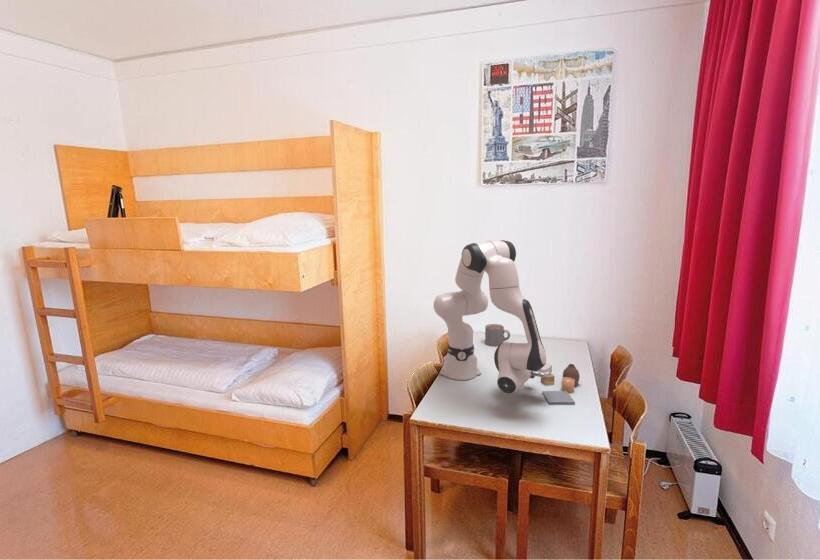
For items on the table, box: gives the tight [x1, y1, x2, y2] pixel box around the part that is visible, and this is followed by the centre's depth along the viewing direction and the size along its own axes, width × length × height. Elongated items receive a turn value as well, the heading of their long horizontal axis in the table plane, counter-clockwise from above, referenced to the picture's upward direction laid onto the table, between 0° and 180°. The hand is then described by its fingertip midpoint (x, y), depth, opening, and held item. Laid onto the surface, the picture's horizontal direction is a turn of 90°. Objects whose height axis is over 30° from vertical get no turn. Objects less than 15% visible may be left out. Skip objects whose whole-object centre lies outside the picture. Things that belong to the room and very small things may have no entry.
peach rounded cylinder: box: [560, 376, 575, 394], centre depth 180 cm, size 5×5×5 cm
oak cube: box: [540, 373, 555, 387], centre depth 187 cm, size 4×4×4 cm
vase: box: [562, 363, 581, 387], centre depth 186 cm, size 7×7×9 cm
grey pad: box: [541, 390, 576, 406], centre depth 173 cm, size 10×10×1 cm
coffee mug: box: [484, 323, 511, 348], centre depth 238 cm, size 13×10×10 cm
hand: (531, 359), depth 181 cm, fingers closed on walnut block, 4 cm apart
